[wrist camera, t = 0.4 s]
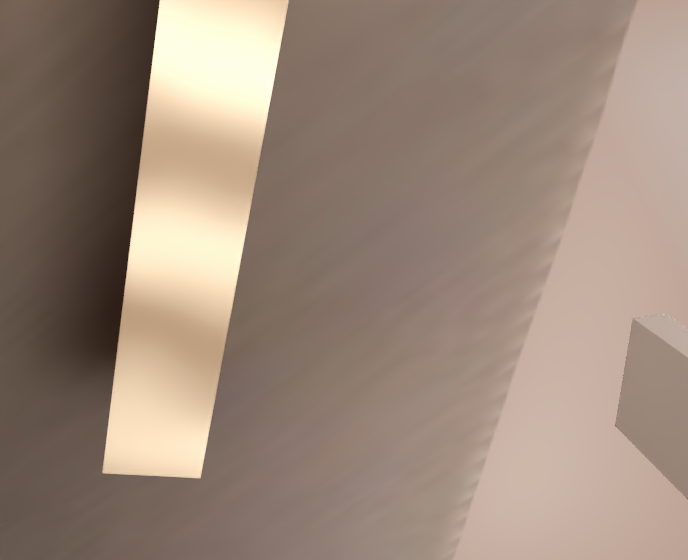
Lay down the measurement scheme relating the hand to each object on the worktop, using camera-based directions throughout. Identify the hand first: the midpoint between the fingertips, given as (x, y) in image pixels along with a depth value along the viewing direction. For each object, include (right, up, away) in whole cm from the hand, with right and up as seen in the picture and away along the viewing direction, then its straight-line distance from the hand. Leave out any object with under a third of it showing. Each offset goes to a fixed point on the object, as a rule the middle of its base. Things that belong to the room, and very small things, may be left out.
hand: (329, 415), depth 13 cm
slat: (-7, +10, +20) cm, 23 cm away
